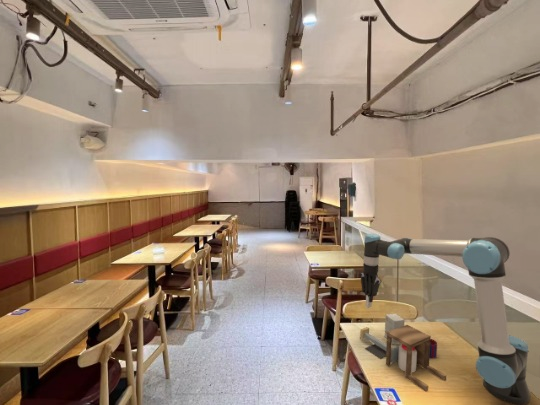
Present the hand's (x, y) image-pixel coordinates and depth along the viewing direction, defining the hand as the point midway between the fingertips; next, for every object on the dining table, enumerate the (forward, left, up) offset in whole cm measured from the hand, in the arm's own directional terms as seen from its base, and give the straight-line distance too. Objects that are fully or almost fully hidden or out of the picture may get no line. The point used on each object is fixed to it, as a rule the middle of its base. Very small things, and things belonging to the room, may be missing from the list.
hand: (368, 306), depth 157 cm
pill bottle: (-24, 0, -20) cm, 31 cm away
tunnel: (-28, 0, -20) cm, 34 cm away
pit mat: (-9, 0, -20) cm, 21 cm away
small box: (-6, -14, -20) cm, 25 cm away
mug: (-22, -17, -20) cm, 34 cm away
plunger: (-8, 0, -19) cm, 21 cm away
